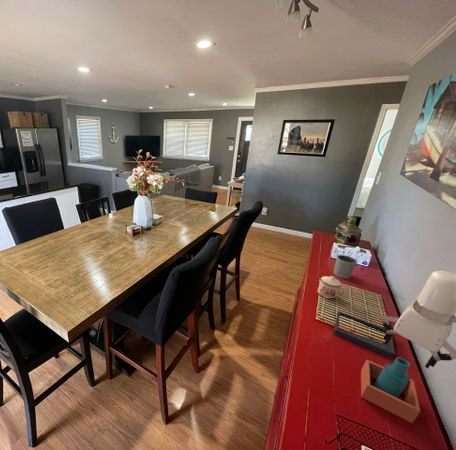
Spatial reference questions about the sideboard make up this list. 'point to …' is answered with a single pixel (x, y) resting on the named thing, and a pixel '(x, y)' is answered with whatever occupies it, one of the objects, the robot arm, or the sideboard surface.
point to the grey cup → (344, 266)
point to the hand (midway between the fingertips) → (406, 353)
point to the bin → (385, 400)
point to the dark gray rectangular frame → (366, 342)
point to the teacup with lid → (330, 287)
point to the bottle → (393, 377)
